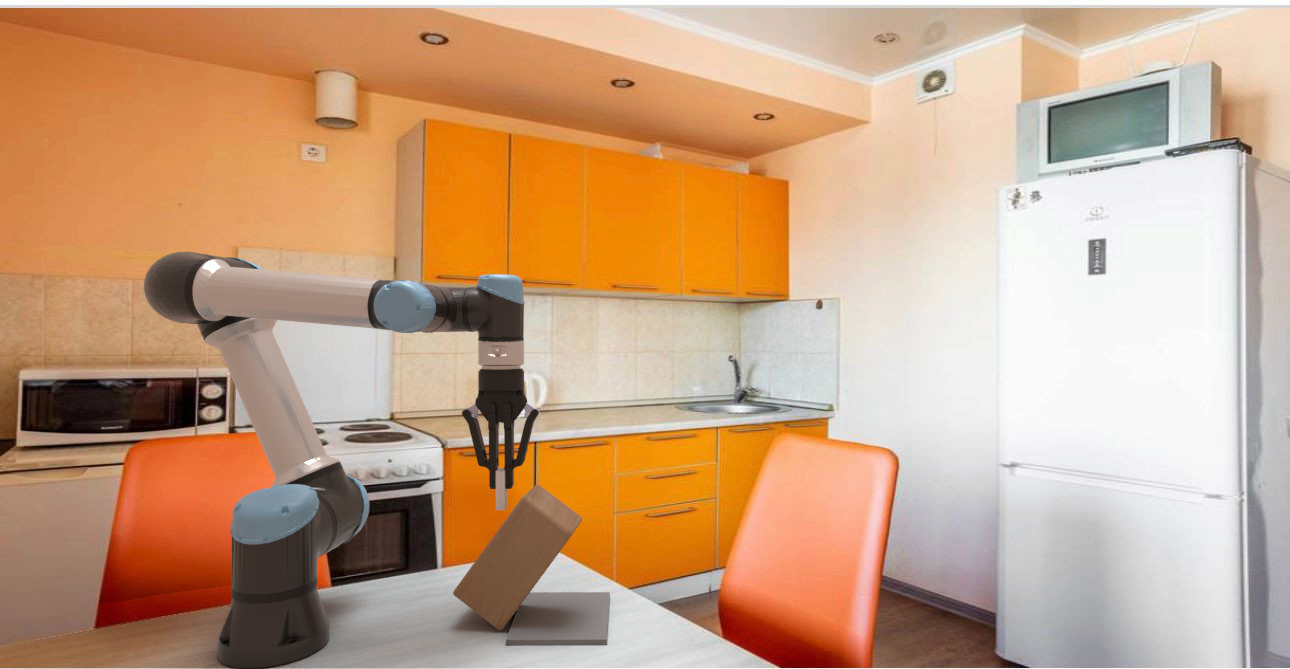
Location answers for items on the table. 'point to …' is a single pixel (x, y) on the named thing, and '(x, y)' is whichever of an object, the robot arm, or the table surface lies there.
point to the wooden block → (517, 556)
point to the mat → (561, 619)
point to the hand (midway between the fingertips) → (501, 508)
